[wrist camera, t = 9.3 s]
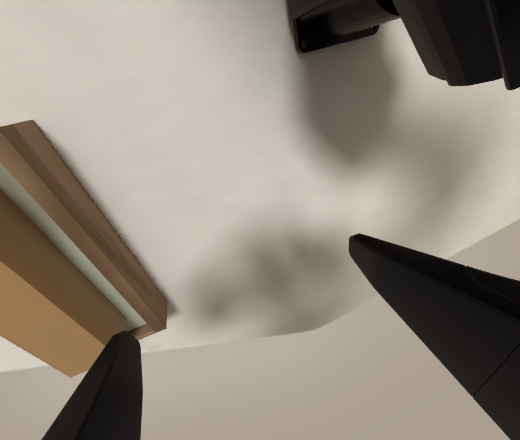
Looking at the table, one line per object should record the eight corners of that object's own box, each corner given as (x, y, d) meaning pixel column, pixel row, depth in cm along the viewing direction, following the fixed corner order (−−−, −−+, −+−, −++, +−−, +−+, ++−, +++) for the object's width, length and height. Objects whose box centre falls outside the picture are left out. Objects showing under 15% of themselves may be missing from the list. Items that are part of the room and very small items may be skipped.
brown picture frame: (32, 119, 13) (-3, 127, 11) (167, 301, 23) (166, 328, 21) (-149, 167, 12) (-241, 189, 9) (76, 337, 22) (63, 371, 19)
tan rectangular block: (-15, 174, 12) (-73, 201, 9) (126, 318, 20) (118, 356, 17) (-92, 197, 12) (-181, 233, 9) (84, 335, 19) (68, 378, 17)
